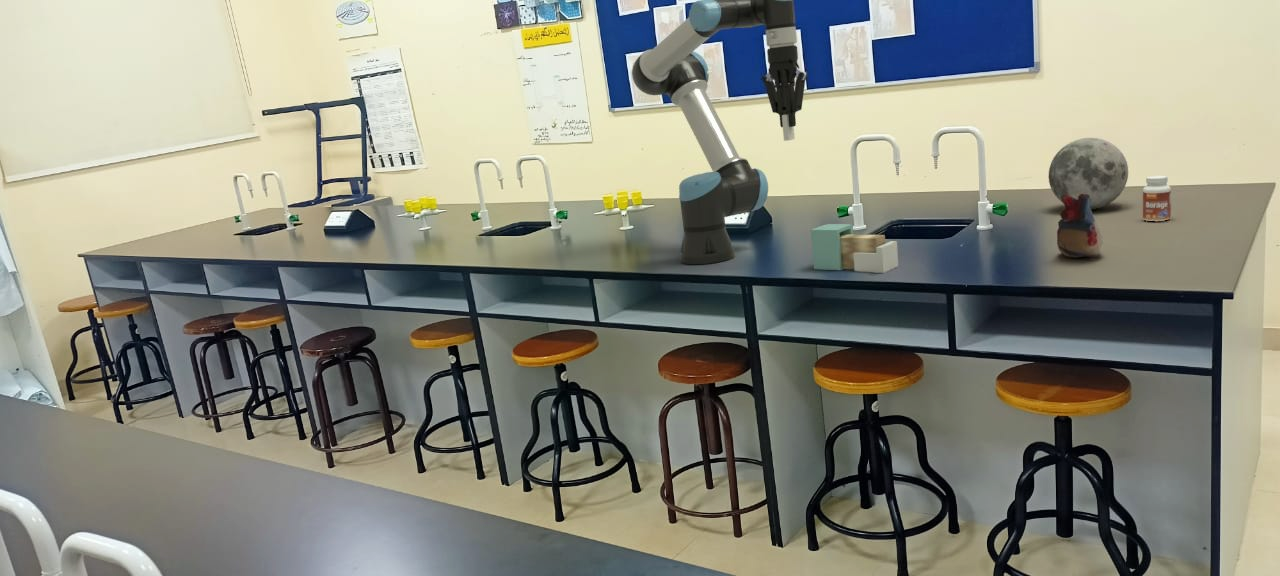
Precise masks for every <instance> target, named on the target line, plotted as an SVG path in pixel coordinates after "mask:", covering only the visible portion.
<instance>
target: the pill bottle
mask: <svg viewBox="0 0 1280 576" xmlns="http://www.w3.org/2000/svg"><path fill="white" fill-rule="evenodd" d="M1145 183H1146V184H1147V185H1146V186H1144V187H1143V188H1142V189H1143V190H1142V220H1143V219H1148V220H1163V219H1169V218H1170V219H1171V217H1172V216H1171V214H1172V213H1171V209H1172V199H1171V198H1172V188H1171V186H1170V185H1169V184H1168V176H1167V175H1150V176H1147V177H1146V179H1145Z"/></svg>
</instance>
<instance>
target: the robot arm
mask: <svg viewBox="0 0 1280 576" xmlns="http://www.w3.org/2000/svg"><path fill="white" fill-rule="evenodd" d="M794 1H795V0H696V1H695V2H693V3H692V4H691V7H690V9H689V12H688V17H687V18H686V19H685V20H684V21H683V22H682V23H681V24H680V25H678V26H677V27H676V28H674V30H673V31H671V32H670V34H668V35H667V36H666V37H665V38H664V39H662V40H661V41H660V42H659V43H658V44H657V45H656V46H654V47H653V48H652V49H647V50H644V51H643V52H642V53H641V54H640V55H639V56H638V57H637V58H636V59H635V61H634V63H633V65H632V68H631V77H632V81H633V83H634V85H635V86H636V87H637V88H638V90H640V91H641V92H642V93H644V94H646V95H649V96H650V95H651V96H662V95H663V96H664V95H668V97H669V99H670V101H671V102H672V104H673V105H675V106H678V107H680V109H681V111H682V113H683V115H684V117H685V119H686V121H687V123H688V125H689V127H690V129H691V131H692V133H693V135H694V136H695V139H696V140H697V143H698V145H699V147H700V148H701V151H702V152H703V155H704V156H705V158H706V161H707V162H708V164H709V167H710V169H711V171H707V172H704V173H698V174H693V175H692V176H689V177H686V178H684V179H682V180H681V182H680V183H679V185H678V189H679V190H678V191H679V192H678V193H679V196H678V198H679V200H680V210H681V219H682V226H683V236H682V237H683V239H682V243H681V251H680V253H679V254H680V255H679V256H680V262H681V263H682V264H686V265H707V264H714V263H715V264H716V263H720V262H724V261H728V260H731V259H733V258H735V256H736V253H735V247H734V245H733V244H732V240H731V238H730V236H729V234H728V231H727V229H726V228H727V227H726V218H727V217H732V216H737V215H741V214H746V213H747V214H749V213H751V212H753V211H757V210H759V209H761V208H762V207H763V206H764V205H765V203H766V202H767V199H768V195H769V194H768V193H769V182H768V180H767V176H766V174H765V172H763V171H762V170H761V169H760V168H759V169H758V168H752V166H751V164H750V163H749V161H748V159H747V158H743V157H740V155H739V153H738V152H737V149H736V147H735V145H734V143H733V142H732V140H731V138H730V136H729V134H728V132H727V130H726V128H725V127H724V124H723V122H722V120H721V119H720V117H719V115H718V112H717V111H716V108H715V107H714V105H713V103H712V102H711V99H710V97H709V96H708V93H707V90H708V82H709V79H710V77H709V76H710V75H709V74H710V73H708V71H709V67H708V64H707V62H706V60H705V59H704V57H703V56H702V55H700V53H697V52H695V50H696V49H698V48H699V47H700V46H702V45H703V43H705V42H706V41H707V40H708V39H710V38H711V37H712V36H714V35H715V34H716V33H718V32H719V31H722V30H730V29H737V28H738V29H740V28H741V29H748V28H750V29H751V28H753V27H758V26H762V25H764V26H765V27H764V29H765V38H766V39H765V41H766V46H767V47H769V48H768V49H767V50H766V51H767V52H766V53H767V62H768V64H769V67H768V73H766V75H764V76H761V78H760V79H761V82H762V83H763V85H764V87H765V90H766V92H767V98H768V100H769V104H770V107H771V111H772V113H774V114H778V115H779V116H778V117H779V123H780V127H781V128H782V133H783V141H784V142H785V141H787V142H788V141H791V140H792V141H793V140H795V127H796V126H797V122H796V114H797V112H799V111H802V109H803V108H802V107H803V101H804V95H805V94H804V91H805V84H806V81H807V77H808V75H809V73H808V71H803V70H801V69H800V65H799V64H798V59H799V55H798V54H799V53H798V47H797V45H795V44H797V42H798V39H797V28H796V14H795V3H794Z"/></svg>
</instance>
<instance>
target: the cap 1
mask: <svg viewBox="0 0 1280 576" xmlns="http://www.w3.org/2000/svg"><path fill="white" fill-rule="evenodd" d="M853 225H854V224H852V223H850V224H849V223H845V224H844V223H840V224H839V223H826V224H824V225H820V226H818V227H817V226H816V227H815V228H812V229H810V234H811V247H812V249H811V250H812V259H813V260H812V261H813V270H825V271H842V270H843V269H842V260H841V247H840V234H854V227H853Z"/></svg>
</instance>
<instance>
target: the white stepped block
mask: <svg viewBox="0 0 1280 576" xmlns="http://www.w3.org/2000/svg"><path fill="white" fill-rule="evenodd" d="M853 255H854V268H855V269H854V272H866V273H877V274H884V273H885V274H886V273H888V272H889V271H891V270H894V269H895V268H897V267H899V252H898V241H897V240H895V241H894V240H893V241H892V240H890V241H887V242H885V244H883V245H881V246H879V247H876V253H862V252H855V253H853Z"/></svg>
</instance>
